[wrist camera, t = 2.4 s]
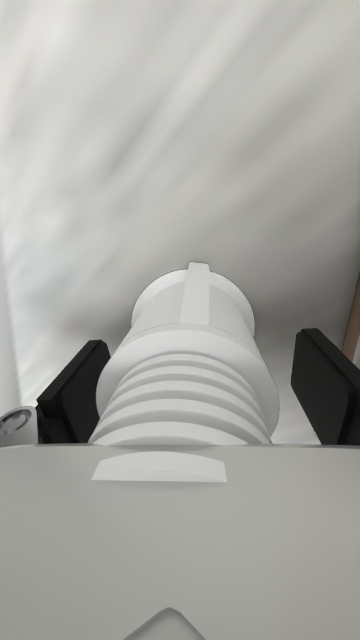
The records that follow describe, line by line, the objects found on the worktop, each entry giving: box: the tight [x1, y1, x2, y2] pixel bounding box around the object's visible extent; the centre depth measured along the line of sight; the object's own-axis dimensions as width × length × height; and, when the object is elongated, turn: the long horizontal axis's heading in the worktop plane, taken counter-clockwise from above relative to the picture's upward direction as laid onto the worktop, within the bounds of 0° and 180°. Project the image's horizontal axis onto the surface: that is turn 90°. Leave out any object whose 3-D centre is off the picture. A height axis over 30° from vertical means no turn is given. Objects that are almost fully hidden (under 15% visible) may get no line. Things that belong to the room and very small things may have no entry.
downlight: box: [88, 262, 280, 482], centre depth 9 cm, size 8×7×10 cm
